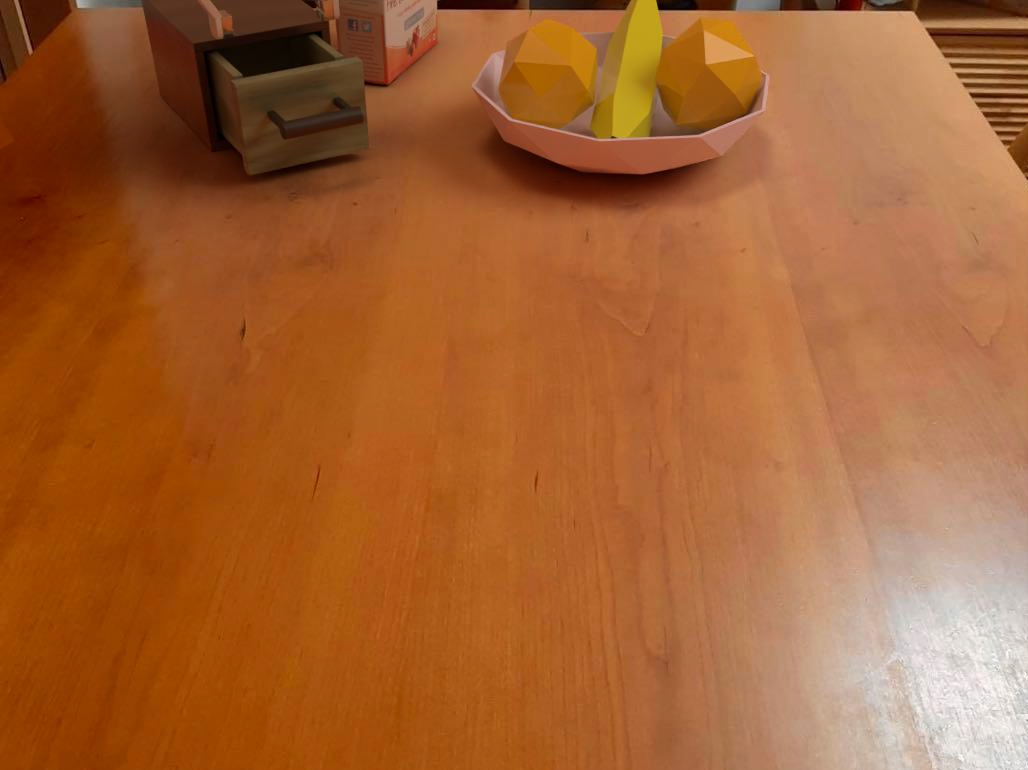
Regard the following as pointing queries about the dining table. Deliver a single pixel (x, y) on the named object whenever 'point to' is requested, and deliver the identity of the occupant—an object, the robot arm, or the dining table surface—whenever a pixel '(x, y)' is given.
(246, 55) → the drawer
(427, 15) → the cracker box
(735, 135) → the fruit bowl
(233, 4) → the cabinet
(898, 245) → the dining table surface
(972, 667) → the dining table surface
